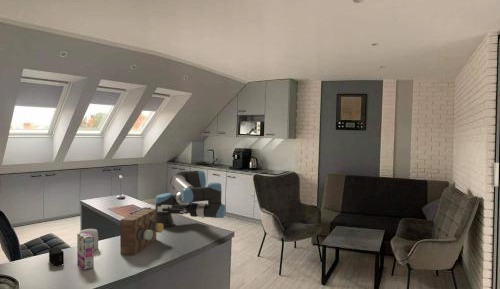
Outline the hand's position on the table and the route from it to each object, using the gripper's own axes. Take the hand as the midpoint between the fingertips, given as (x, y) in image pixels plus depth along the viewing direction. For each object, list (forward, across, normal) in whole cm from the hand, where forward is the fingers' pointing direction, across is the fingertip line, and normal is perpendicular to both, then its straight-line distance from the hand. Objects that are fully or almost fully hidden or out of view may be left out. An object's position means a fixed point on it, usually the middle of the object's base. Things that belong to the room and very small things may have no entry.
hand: (159, 208), depth 183 cm
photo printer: (+43, -4, -26) cm, 51 cm away
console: (+17, +7, -26) cm, 32 cm away
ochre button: (+7, +14, -19) cm, 24 cm away
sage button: (+7, 0, -19) cm, 20 cm away
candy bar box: (+29, -25, -26) cm, 46 cm away
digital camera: (+48, -25, -26) cm, 60 cm away
